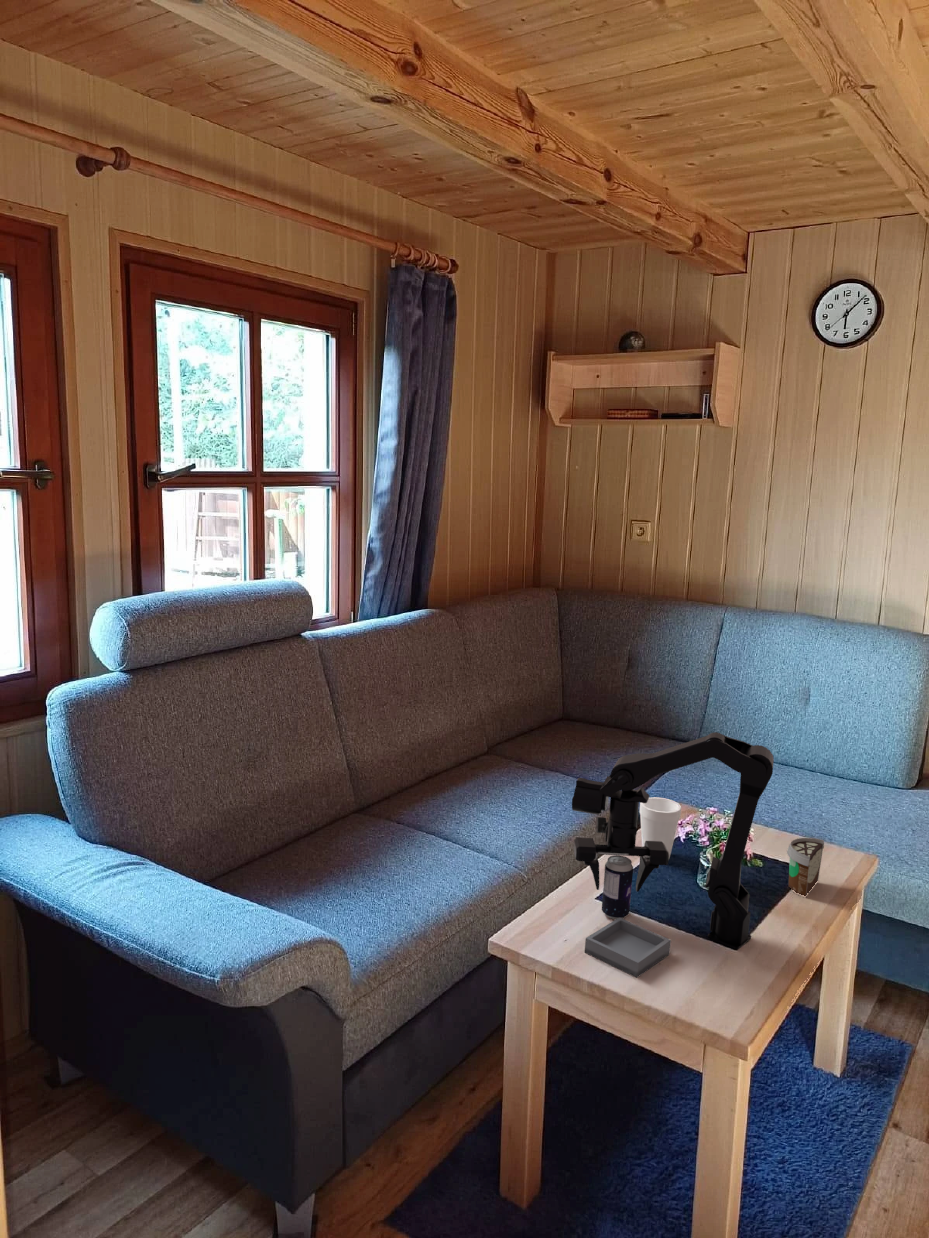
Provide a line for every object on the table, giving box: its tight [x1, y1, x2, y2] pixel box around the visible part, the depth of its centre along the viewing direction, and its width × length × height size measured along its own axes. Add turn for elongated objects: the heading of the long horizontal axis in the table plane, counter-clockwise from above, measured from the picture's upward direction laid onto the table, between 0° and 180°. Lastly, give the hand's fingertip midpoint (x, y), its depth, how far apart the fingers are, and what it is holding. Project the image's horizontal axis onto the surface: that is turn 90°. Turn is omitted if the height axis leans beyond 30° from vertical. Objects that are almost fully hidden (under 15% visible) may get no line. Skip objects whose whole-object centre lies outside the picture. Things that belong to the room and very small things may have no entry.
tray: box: [584, 917, 672, 979], centre depth 176 cm, size 12×12×3 cm
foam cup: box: [638, 796, 682, 859], centre depth 218 cm, size 10×9×13 cm
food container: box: [786, 837, 825, 896], centre depth 207 cm, size 12×6×10 cm, turn 144°
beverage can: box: [601, 855, 634, 920], centre depth 190 cm, size 6×6×12 cm
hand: (617, 889), depth 190 cm, fingers open, 8 cm apart
